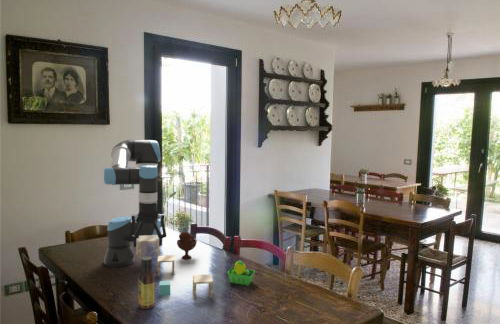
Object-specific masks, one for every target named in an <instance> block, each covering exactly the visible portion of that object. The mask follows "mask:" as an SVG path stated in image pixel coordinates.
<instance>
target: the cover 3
mask: <svg viewBox="0 0 500 324" xmlns="http://www.w3.org/2000/svg"><path fill="white" fill-rule="evenodd" d="M201 284H208V294H209V297H210V299H213V298H214V279H213V275H212V273H211V274H209V273H208V274H193V275H192V296H193V299H194V300H196V299H197V285H201Z"/></svg>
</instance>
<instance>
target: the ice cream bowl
mask: <svg viewBox="0 0 500 324" xmlns="http://www.w3.org/2000/svg"><path fill="white" fill-rule="evenodd" d="M178 238H179V239H177V240H176V245H177V247H178V248H179V249H180V250H182V251H184V253H185V254H183V255H182V256H181V260H185V261H186V260H191V259H192V256H191V254H189V251H192V250H194V248H195V247H196V246H197V241H198V239H195V235H193V234H192V233H190V232H189V231H182V232H180V233H179V235H178Z"/></svg>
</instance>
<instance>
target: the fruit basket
mask: <svg viewBox="0 0 500 324" xmlns="http://www.w3.org/2000/svg"><path fill="white" fill-rule="evenodd" d="M246 268H247V266H246V264H245V263H244V262H243V261H242V260H238V261H236V262H235V264H234V267H231V268H230V269H229V270H228V271H227V275H228V280H229V283H232V284H236V285H238V284H239V285H243V286H249V285H250V284H251V283H252V281H253V277H254V275H255V270H253V269H246Z"/></svg>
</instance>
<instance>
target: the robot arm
mask: <svg viewBox="0 0 500 324" xmlns="http://www.w3.org/2000/svg"><path fill="white" fill-rule="evenodd" d="M110 157H111V163H110V167H105V168H104V170H103V182H104V185H108V186H109V185H112V186H115V185H116V186H119V185H123V186H125V185H138V213H136V214H131V216H127V215H126V216H119V217H115V218H112V219H110V220H109V221H108V222H107V230H106V231H107V250H106V252H105V255H104V258H103V265H105V266H106V267H112V268H115V267H116V268H120V267H125V266H130V265H132V264H133V263H134V262H135V261H136V260H135V255H136V256H138V238H139V236H143V235H158V255H159V254H160V247H162V245H163V238H167V232H166V226H165V225H166V223H165V214H164V213H162V214H161V213H158V177H159V172H158V171H159V170H158V166H159V162H161V159H162V158H161V149H160V144H159V142H158V141H157V140H153V139H126V140H123V141H121V142H119V143H117V144H115V145H114V147H113V148H112V150H111V152H110ZM129 162H135V166H137V167H129ZM161 229H162V233H161ZM132 243H133V247H134V248H136V249H135V250H136V254H134V251H133V248H132Z"/></svg>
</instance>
